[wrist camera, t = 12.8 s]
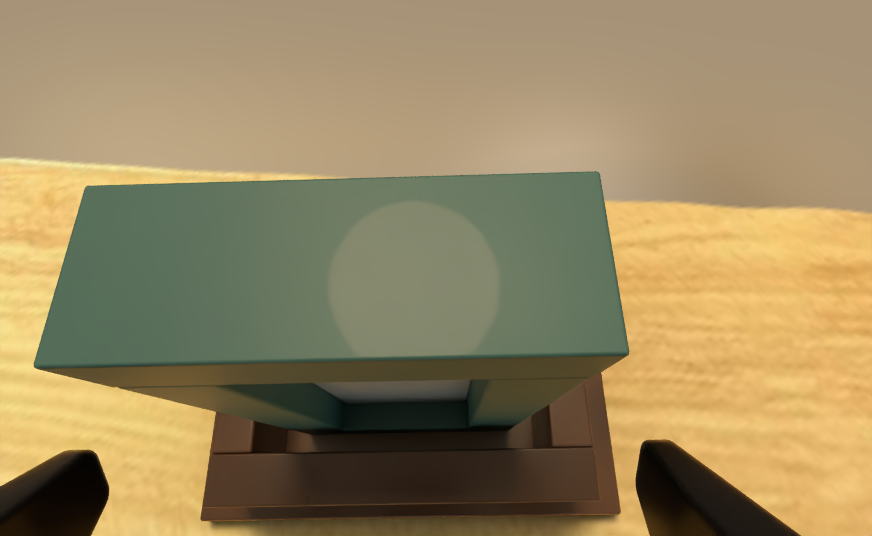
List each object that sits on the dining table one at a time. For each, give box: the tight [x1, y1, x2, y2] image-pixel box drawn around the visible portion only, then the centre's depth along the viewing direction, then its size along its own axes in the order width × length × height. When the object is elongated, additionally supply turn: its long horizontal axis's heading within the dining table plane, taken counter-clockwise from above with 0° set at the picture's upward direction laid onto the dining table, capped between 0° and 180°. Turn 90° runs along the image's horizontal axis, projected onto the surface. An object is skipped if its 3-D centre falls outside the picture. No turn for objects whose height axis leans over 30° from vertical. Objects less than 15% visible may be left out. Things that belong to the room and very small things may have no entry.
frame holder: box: [201, 373, 621, 521], centre depth 17 cm, size 8×14×4 cm, turn 91°
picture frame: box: [34, 172, 629, 435], centre depth 12 cm, size 2×7×12 cm, turn 91°
